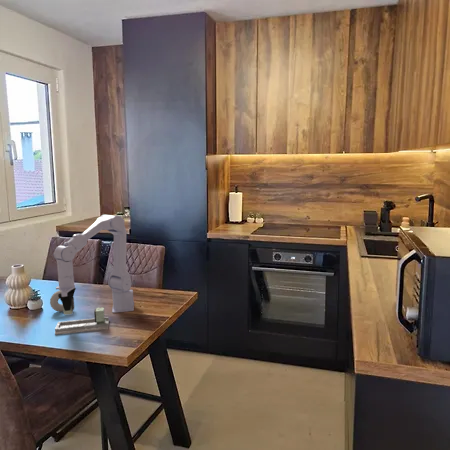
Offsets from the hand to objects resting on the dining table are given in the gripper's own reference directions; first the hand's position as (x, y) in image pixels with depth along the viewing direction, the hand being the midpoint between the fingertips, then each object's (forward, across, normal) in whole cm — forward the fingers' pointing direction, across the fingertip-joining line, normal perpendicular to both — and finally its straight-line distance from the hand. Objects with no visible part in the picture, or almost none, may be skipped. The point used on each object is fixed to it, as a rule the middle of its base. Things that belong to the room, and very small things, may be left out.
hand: (68, 308), depth 161 cm
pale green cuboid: (+2, 0, 0) cm, 2 cm away
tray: (+9, 0, +5) cm, 10 cm away
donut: (+9, -22, -6) cm, 24 cm away
